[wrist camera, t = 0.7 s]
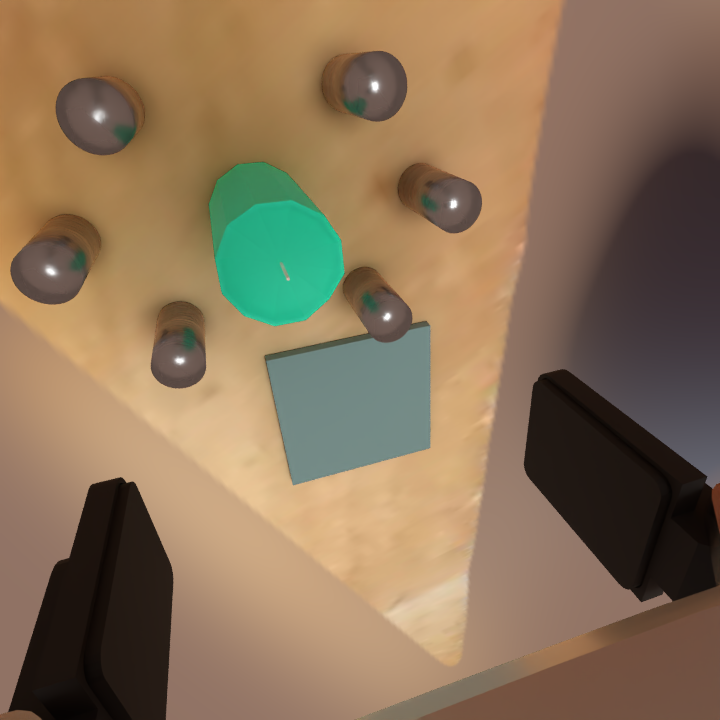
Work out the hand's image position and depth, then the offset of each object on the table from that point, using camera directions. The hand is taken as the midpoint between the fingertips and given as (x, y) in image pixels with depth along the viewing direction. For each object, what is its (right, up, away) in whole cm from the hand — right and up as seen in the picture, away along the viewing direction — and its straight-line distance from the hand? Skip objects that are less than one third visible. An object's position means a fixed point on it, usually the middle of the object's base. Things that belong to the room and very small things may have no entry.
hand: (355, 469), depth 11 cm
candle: (-6, +12, +20) cm, 24 cm away
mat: (0, -1, +30) cm, 30 cm away
